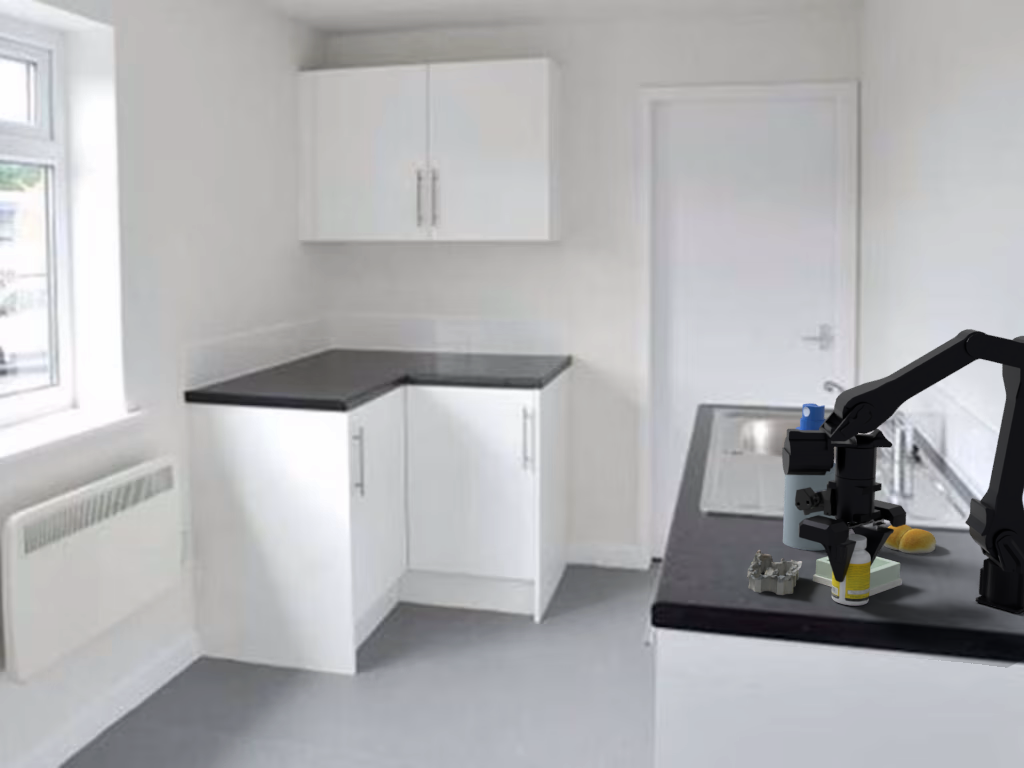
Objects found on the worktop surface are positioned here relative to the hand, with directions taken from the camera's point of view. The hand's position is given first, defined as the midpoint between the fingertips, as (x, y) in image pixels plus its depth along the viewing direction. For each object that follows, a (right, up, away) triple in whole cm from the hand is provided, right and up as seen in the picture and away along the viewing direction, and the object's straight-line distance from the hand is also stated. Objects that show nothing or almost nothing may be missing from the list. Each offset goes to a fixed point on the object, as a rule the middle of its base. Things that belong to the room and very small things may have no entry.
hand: (851, 577), depth 153 cm
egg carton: (-9, -3, +8) cm, 13 cm away
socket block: (+4, -2, +8) cm, 9 cm away
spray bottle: (+2, 0, +29) cm, 29 cm away
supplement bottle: (0, -4, +1) cm, 4 cm away
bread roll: (+19, 0, +27) cm, 33 cm away
